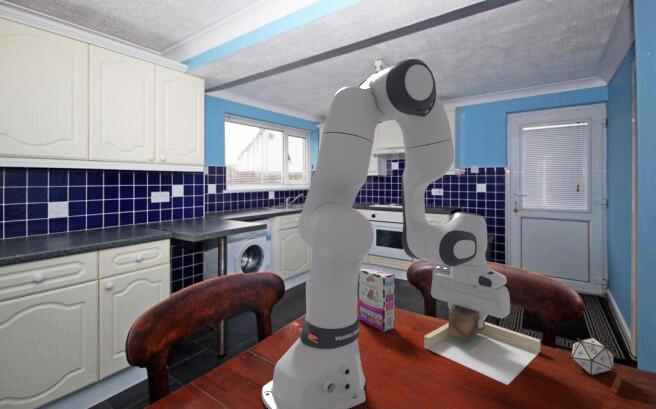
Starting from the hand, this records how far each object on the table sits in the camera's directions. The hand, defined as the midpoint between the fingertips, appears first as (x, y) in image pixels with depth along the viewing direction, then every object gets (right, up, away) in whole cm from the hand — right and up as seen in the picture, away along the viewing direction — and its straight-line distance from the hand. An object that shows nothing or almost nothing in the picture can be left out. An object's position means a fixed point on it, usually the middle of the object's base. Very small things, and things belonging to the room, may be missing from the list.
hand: (466, 322), depth 85 cm
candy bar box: (-23, -5, +12) cm, 26 cm away
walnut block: (0, -2, 0) cm, 2 cm away
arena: (+1, -6, -5) cm, 8 cm away
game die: (+22, -6, -14) cm, 27 cm away
